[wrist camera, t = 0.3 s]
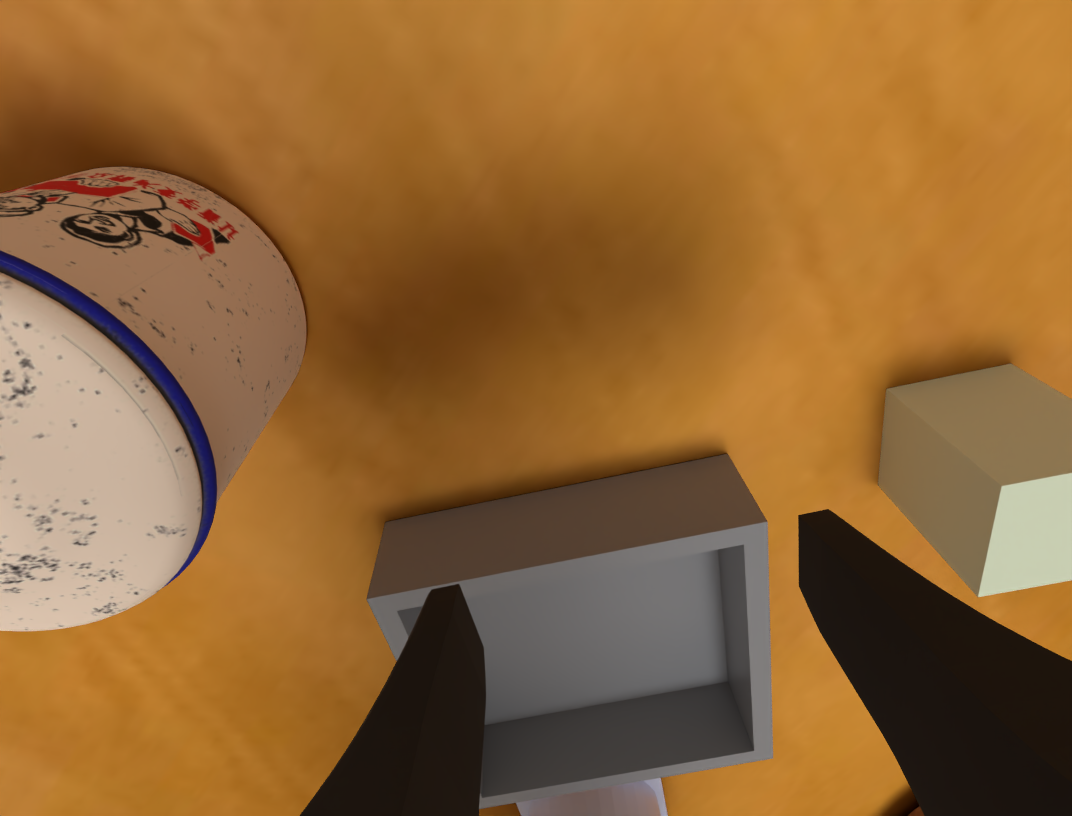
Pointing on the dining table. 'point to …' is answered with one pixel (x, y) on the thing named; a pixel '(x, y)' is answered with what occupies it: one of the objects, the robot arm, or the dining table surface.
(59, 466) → the teacup with lid
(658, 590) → the bin
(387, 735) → the robot arm
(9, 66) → the dining table surface
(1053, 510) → the block
